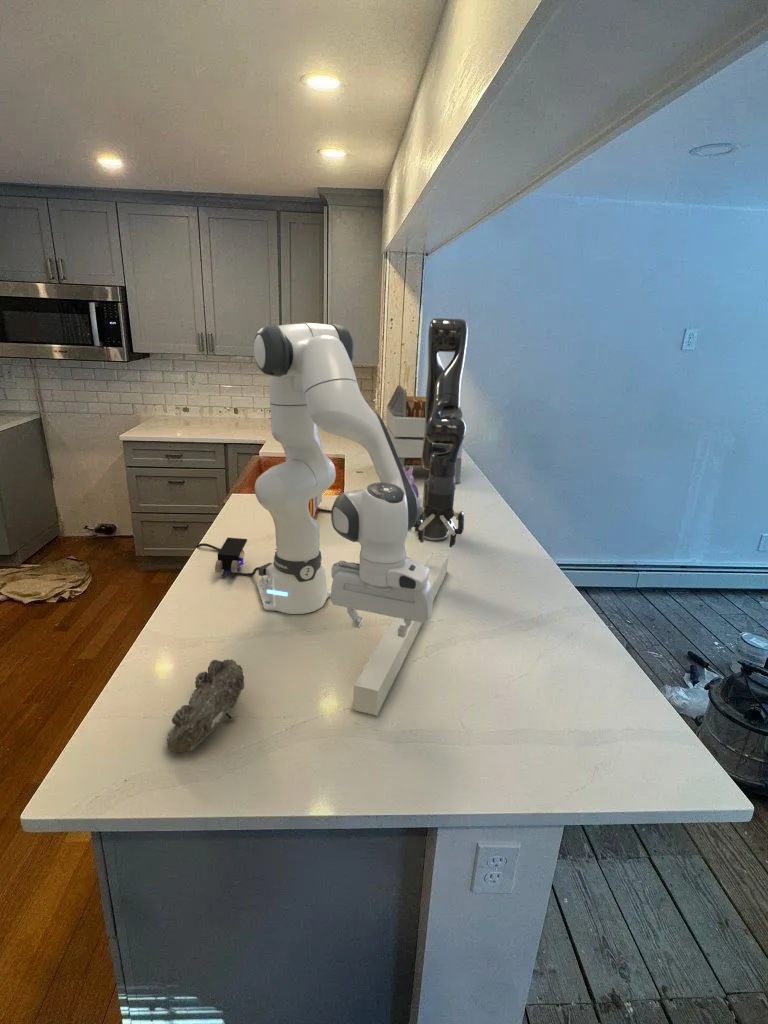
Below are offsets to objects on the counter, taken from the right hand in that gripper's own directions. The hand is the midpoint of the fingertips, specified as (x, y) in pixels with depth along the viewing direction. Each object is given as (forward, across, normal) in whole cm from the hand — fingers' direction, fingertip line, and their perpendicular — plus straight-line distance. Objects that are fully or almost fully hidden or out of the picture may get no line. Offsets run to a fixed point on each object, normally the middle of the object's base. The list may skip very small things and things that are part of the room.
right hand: (436, 543), depth 162 cm
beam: (+12, 0, -26) cm, 29 cm away
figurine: (+12, -26, +67) cm, 73 cm away
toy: (+12, -57, +33) cm, 67 cm away
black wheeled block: (+12, -58, -15) cm, 61 cm away
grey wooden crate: (+11, -32, +112) cm, 117 cm away
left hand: (-2, 0, -53) cm, 53 cm away
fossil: (+13, -27, -72) cm, 78 cm away
